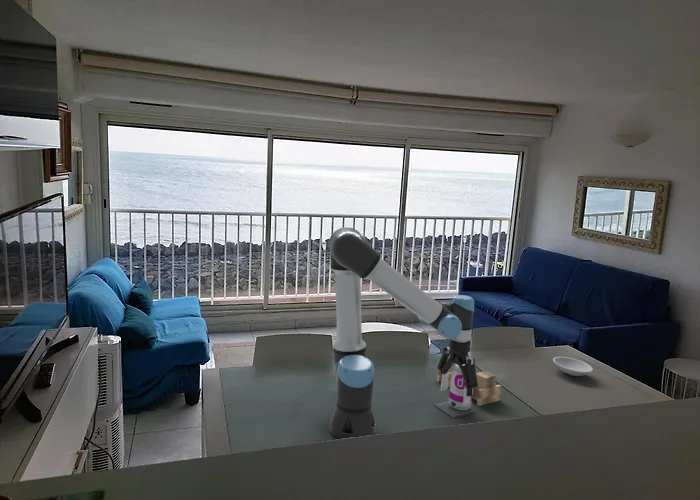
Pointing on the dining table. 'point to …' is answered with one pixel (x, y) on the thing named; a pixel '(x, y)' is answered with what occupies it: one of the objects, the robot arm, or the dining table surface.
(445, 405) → the mat
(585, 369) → the dish
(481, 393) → the rack
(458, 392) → the supplement can
